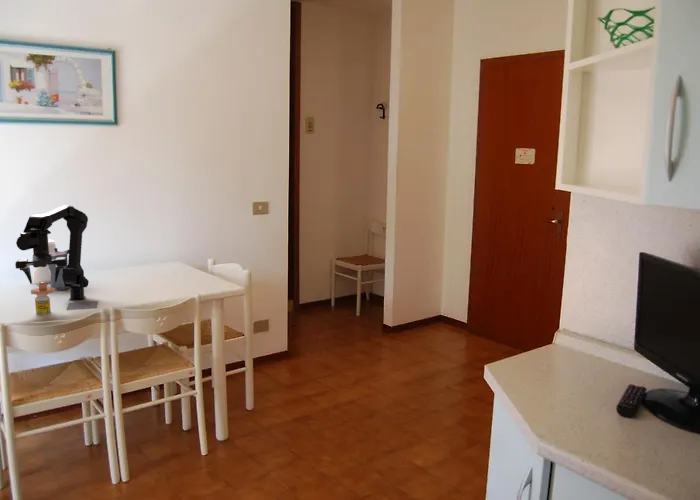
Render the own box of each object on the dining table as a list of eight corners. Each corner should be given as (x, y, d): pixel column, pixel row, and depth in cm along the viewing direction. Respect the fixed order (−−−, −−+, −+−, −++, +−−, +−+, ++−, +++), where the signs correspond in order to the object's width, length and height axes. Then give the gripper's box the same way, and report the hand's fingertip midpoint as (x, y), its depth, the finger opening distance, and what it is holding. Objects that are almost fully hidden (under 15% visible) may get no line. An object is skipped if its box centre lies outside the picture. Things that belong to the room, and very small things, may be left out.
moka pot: (40, 290, 286) (37, 249, 282) (66, 283, 300) (63, 244, 297) (55, 292, 282) (52, 251, 279) (80, 285, 297) (78, 246, 293)
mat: (68, 304, 264) (68, 302, 264) (98, 302, 268) (98, 300, 268) (66, 311, 253) (66, 310, 253) (97, 309, 257) (97, 307, 257)
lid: (32, 289, 249) (31, 280, 248) (56, 288, 252) (55, 279, 251) (29, 295, 241) (28, 285, 240) (54, 293, 244) (53, 284, 243)
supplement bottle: (49, 311, 252) (48, 289, 250) (51, 315, 247) (50, 292, 246) (35, 313, 249) (33, 291, 247) (37, 316, 244) (35, 294, 243)
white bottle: (50, 278, 311) (47, 230, 306) (61, 281, 305) (58, 232, 300) (27, 282, 301) (23, 233, 297) (38, 285, 295) (34, 235, 291)
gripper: (11, 250, 234) (15, 289, 237) (64, 248, 241) (66, 286, 244) (16, 245, 245) (19, 282, 248) (66, 243, 251) (68, 279, 254)
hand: (43, 283), depth 248 cm, fingers open, 9 cm apart
